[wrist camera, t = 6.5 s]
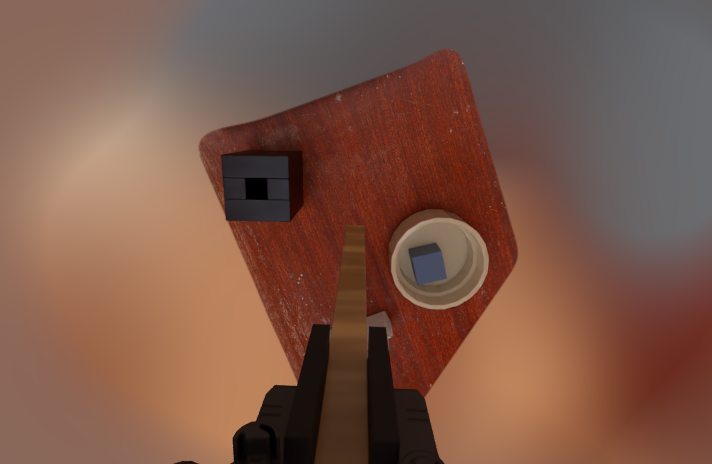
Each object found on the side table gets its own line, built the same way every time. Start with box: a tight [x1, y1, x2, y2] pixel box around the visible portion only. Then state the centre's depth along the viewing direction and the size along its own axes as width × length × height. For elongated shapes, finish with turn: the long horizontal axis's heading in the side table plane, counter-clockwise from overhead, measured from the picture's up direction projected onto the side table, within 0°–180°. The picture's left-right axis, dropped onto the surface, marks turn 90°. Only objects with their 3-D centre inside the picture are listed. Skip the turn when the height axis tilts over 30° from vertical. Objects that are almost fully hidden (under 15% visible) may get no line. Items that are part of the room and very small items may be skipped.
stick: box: [314, 225, 370, 464], centre depth 24 cm, size 2×2×30 cm
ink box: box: [330, 311, 393, 358], centre depth 52 cm, size 3×9×12 cm, turn 112°
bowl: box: [388, 209, 489, 309], centre depth 51 cm, size 12×12×6 cm
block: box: [408, 243, 447, 285], centre depth 52 cm, size 4×4×4 cm
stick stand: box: [221, 151, 303, 222], centre depth 47 cm, size 7×7×10 cm
